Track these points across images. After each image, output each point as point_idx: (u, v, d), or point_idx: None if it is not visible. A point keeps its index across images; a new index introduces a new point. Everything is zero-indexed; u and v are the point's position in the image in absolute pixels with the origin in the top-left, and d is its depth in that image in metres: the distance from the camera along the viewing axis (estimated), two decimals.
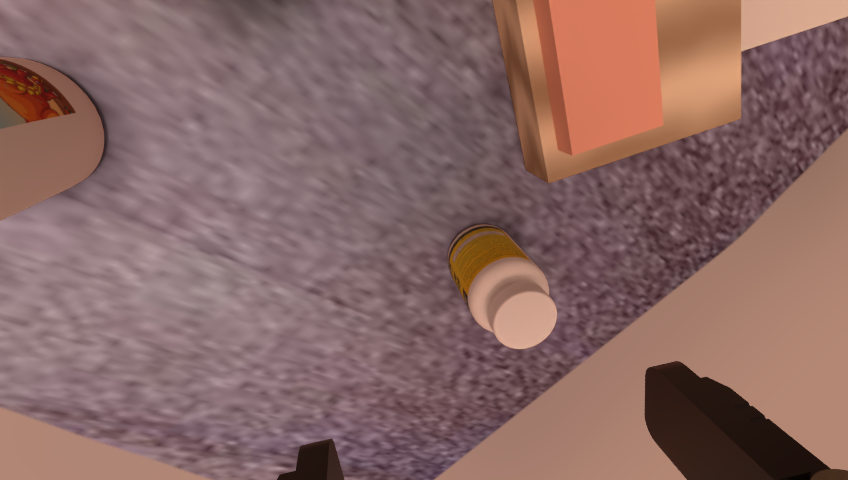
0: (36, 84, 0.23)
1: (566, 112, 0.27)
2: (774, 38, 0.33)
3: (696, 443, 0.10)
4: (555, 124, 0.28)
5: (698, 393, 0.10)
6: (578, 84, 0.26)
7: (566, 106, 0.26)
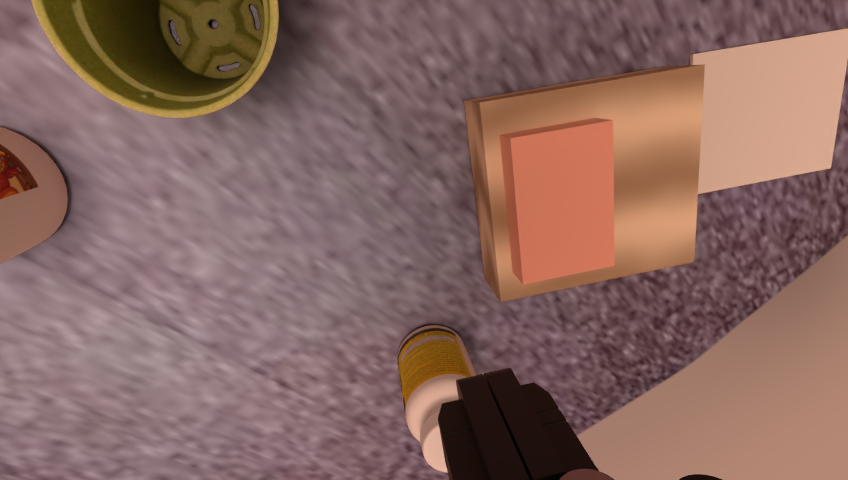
0: (0, 161, 0.24)
1: (520, 244, 0.27)
2: (735, 185, 0.34)
3: None
4: (511, 249, 0.29)
5: (510, 398, 0.11)
6: (533, 220, 0.27)
7: (520, 239, 0.27)
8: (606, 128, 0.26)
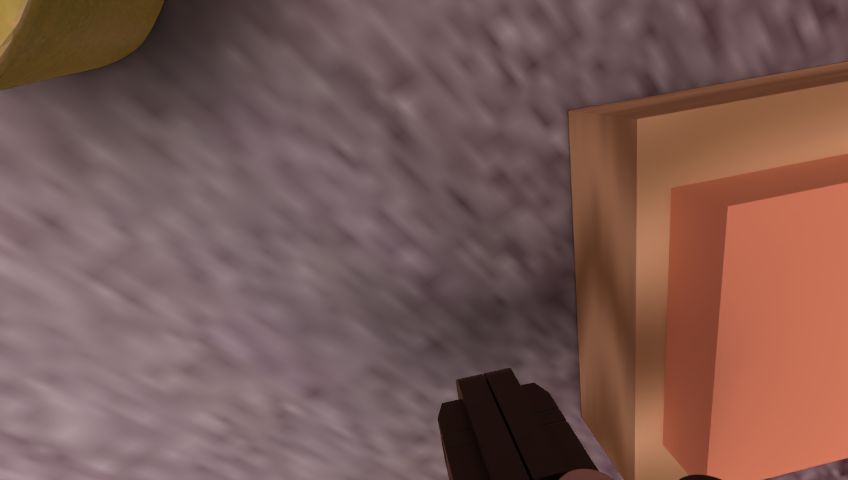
0: None
1: (711, 423, 0.13)
2: None
3: None
4: (669, 409, 0.15)
5: (510, 398, 0.11)
6: (746, 376, 0.12)
7: (713, 414, 0.13)
8: None
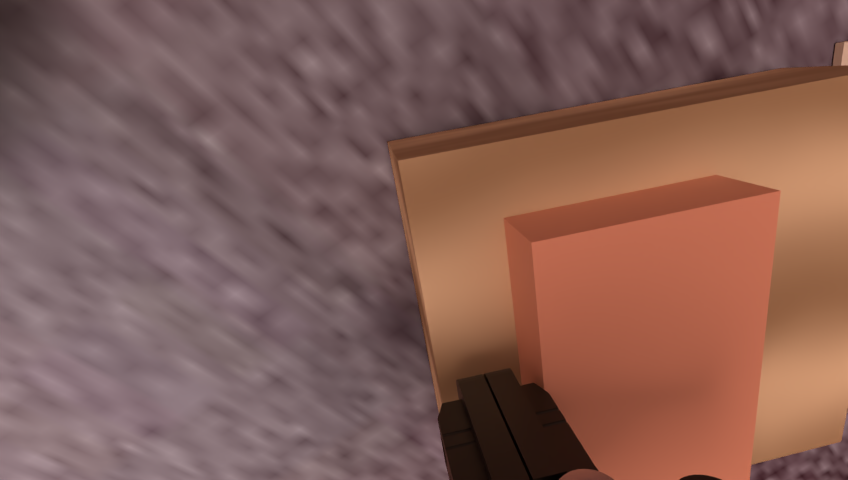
0: None
1: None
2: None
3: None
4: None
5: (510, 398, 0.11)
6: (582, 413, 0.12)
7: None
8: (763, 210, 0.11)
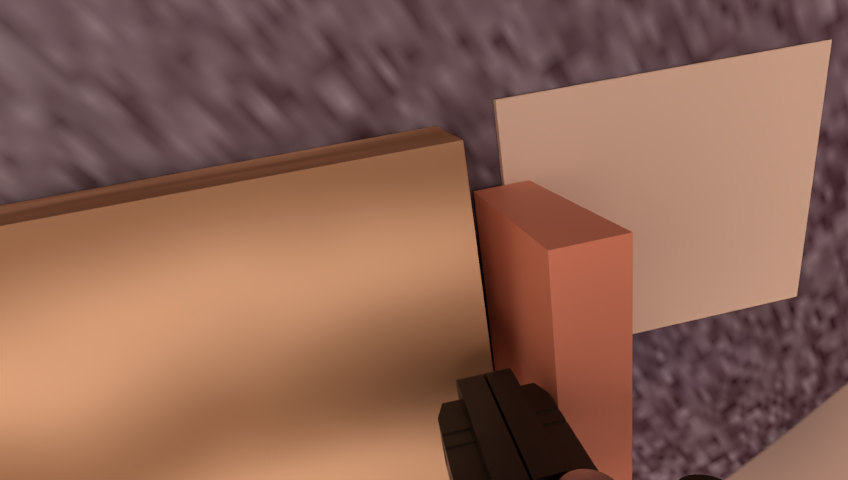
0: None
1: (630, 451, 0.12)
2: None
3: None
4: None
5: (510, 398, 0.11)
6: None
7: (630, 440, 0.12)
8: None
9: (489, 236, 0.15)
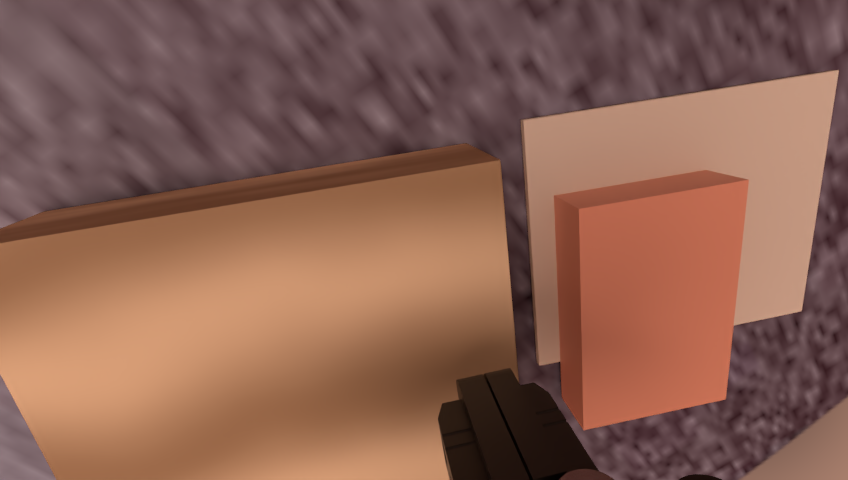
0: None
1: None
2: None
3: None
4: None
5: (510, 398, 0.11)
6: None
7: None
8: None
9: (618, 236, 0.15)
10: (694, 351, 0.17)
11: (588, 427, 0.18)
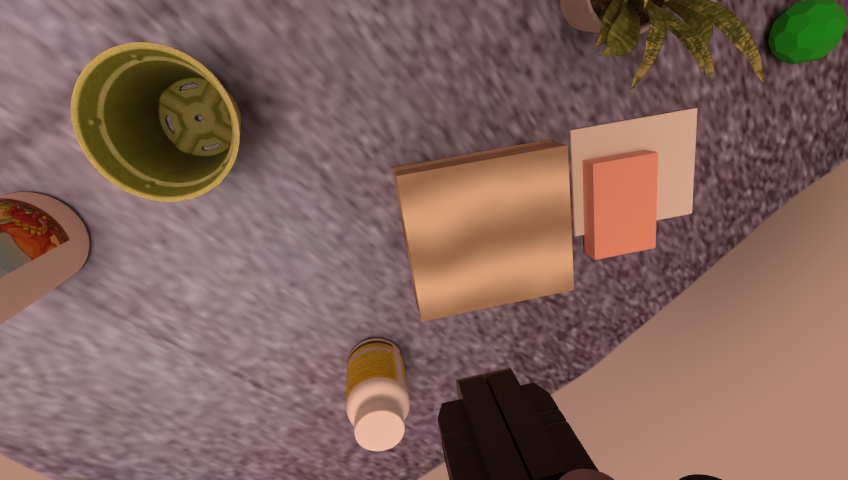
0: (44, 224, 0.33)
1: None
2: None
3: None
4: None
5: (510, 398, 0.11)
6: None
7: None
8: None
9: (608, 174, 0.40)
10: (640, 224, 0.42)
11: (597, 258, 0.42)
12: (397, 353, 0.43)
